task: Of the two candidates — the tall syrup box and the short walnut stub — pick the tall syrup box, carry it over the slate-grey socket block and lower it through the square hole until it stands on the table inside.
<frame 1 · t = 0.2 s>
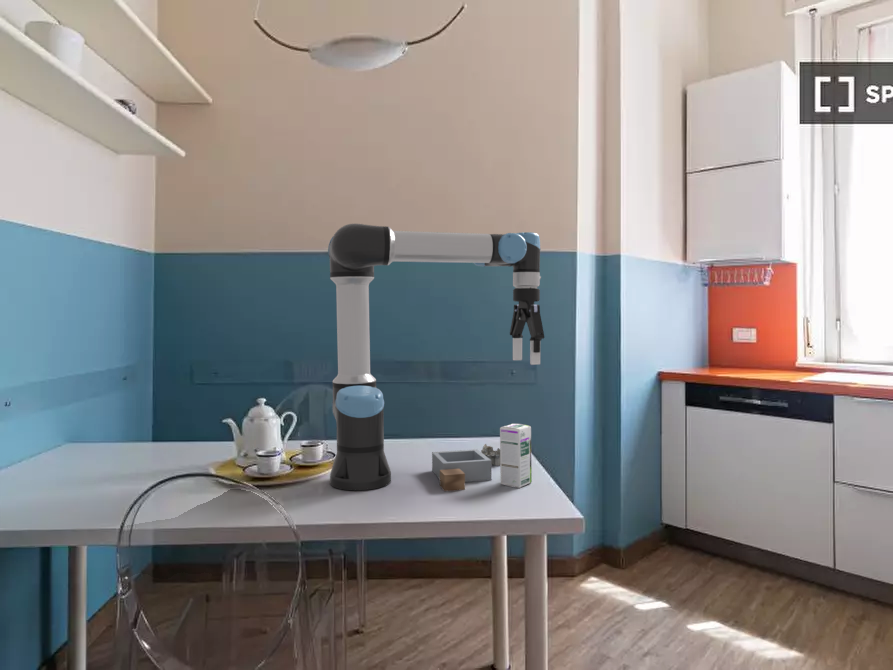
hand: (526, 362, 182), 28 cm above the table, fingers open, 13 cm apart
egg carton: (494, 462, 180), on the table
syrup box: (515, 484, 157), on the table
walnut stub: (452, 488, 154), on the table
socket: (461, 475, 165), on the table
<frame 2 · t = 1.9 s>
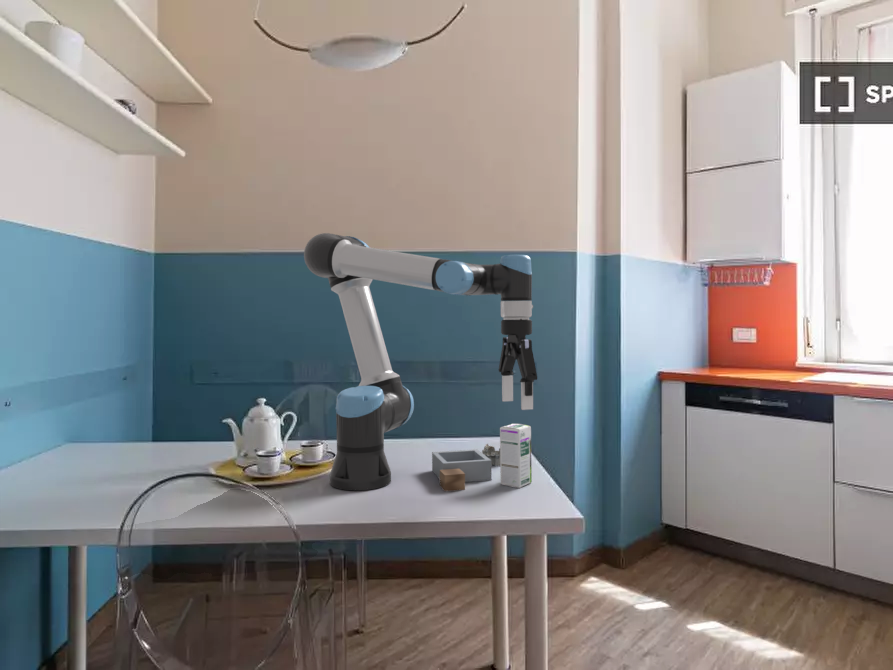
hand: (517, 405, 156), 20 cm above the table, fingers open, 13 cm apart
nothing on the table moved.
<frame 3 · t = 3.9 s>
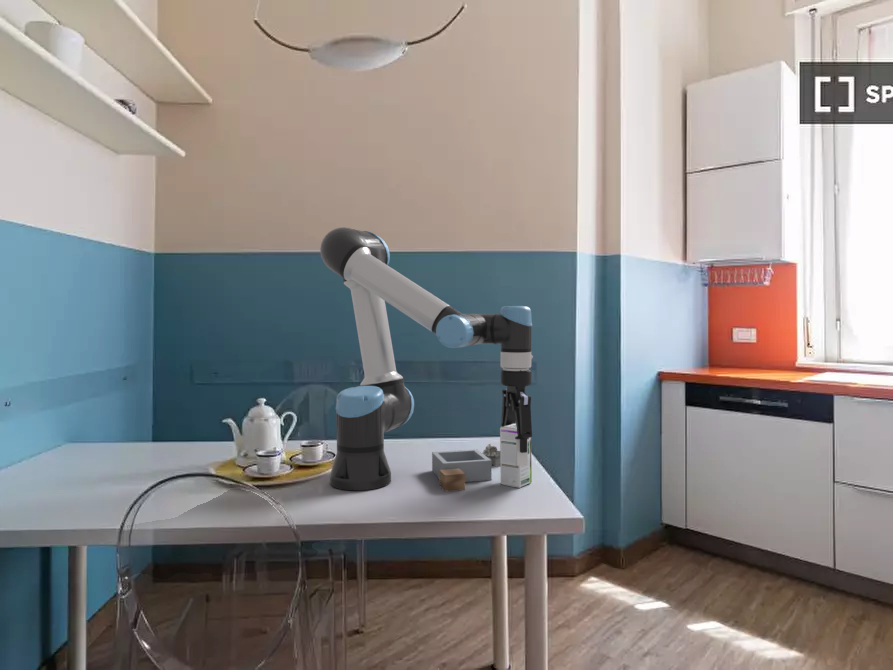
hand: (515, 460, 157), 6 cm above the table, fingers closed on syrup box, 8 cm apart
syrup box: (515, 484, 157), on the table, touching gripper
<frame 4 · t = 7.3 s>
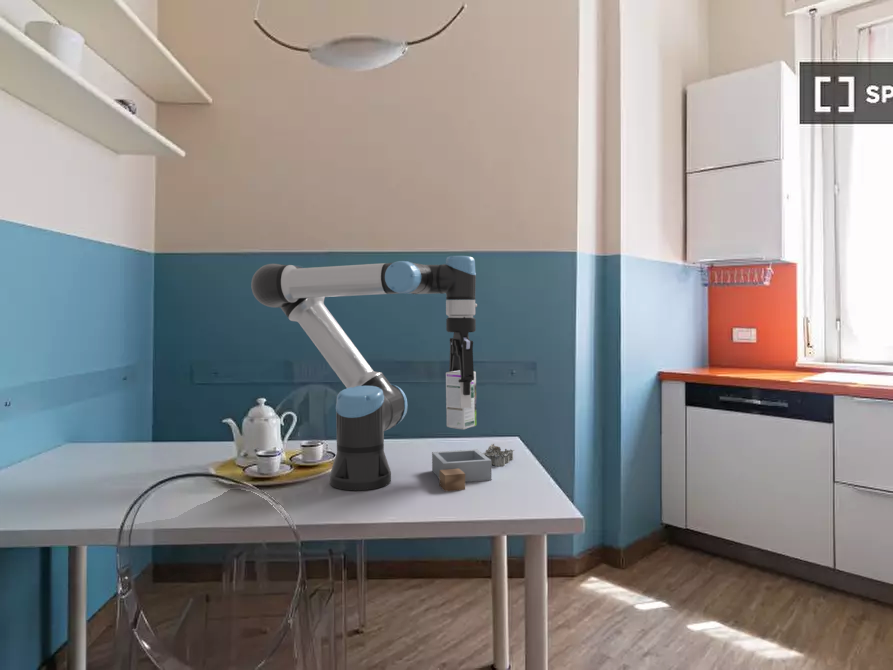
hand: (461, 405, 164), 18 cm above the table, fingers closed on syrup box, 8 cm apart
syrup box: (461, 427, 165), point 12 cm above the table, touching gripper
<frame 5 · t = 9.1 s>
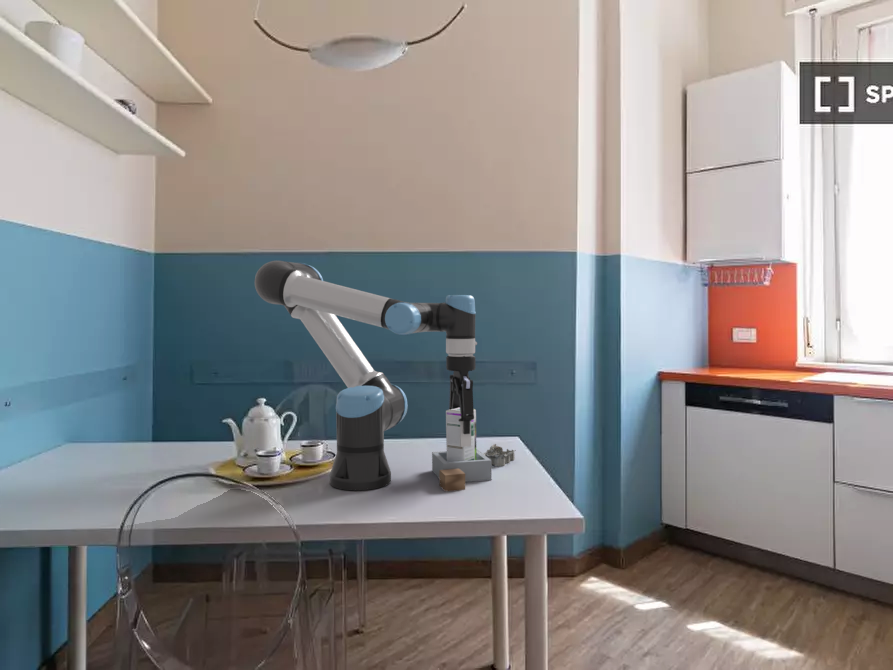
hand: (461, 442, 165), 9 cm above the table, fingers closed on syrup box, 8 cm apart
syrup box: (461, 465, 165), point 3 cm above the table, touching gripper
when the fingers open (7 cm above the table, at t = 10.6 s): syrup box stays where it is, resting in socket.
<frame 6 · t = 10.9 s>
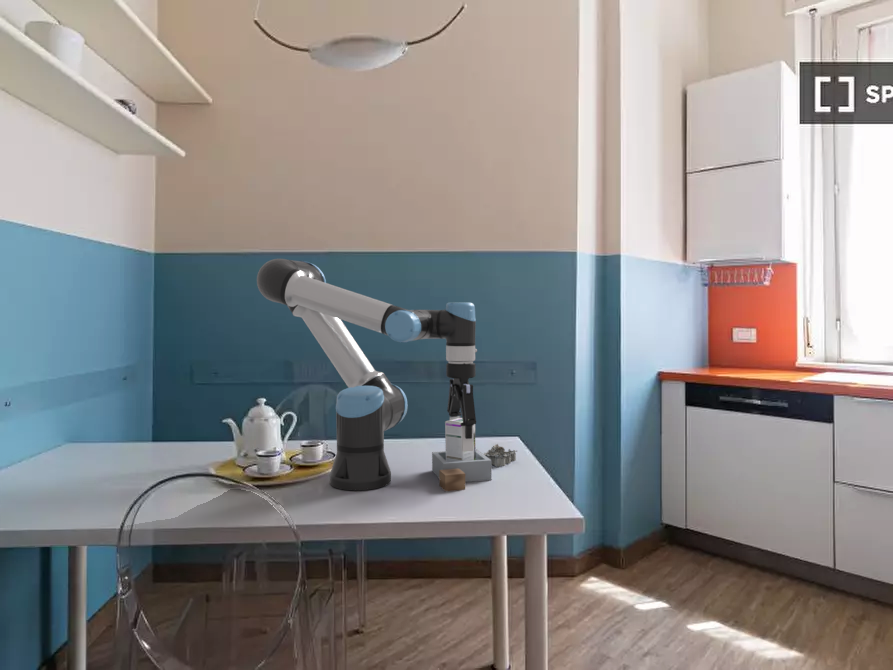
hand: (461, 445, 165), 8 cm above the table, fingers open, 11 cm apart
syrup box: (460, 475, 165), resting in socket
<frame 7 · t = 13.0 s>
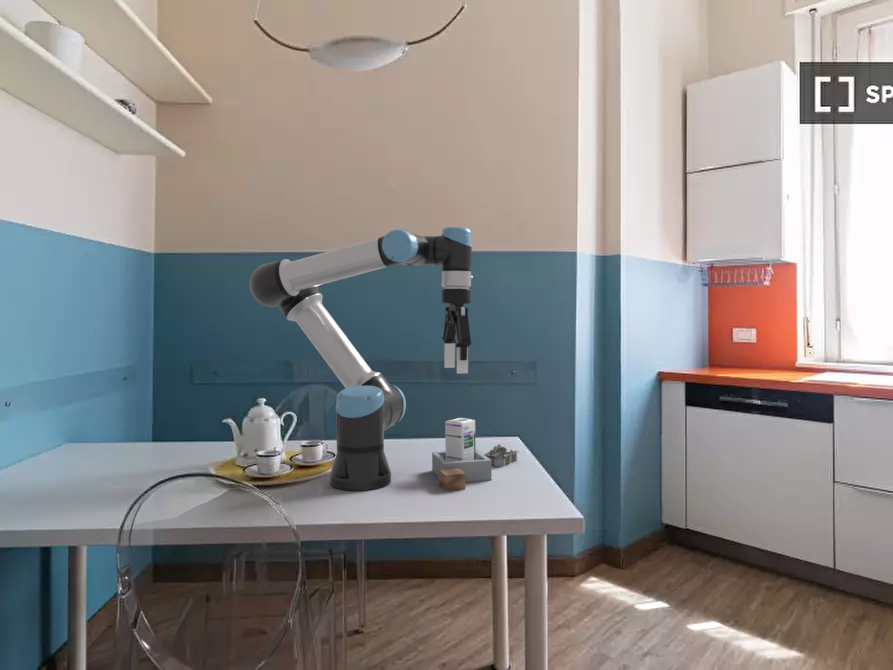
hand: (455, 370, 165), 27 cm above the table, fingers open, 13 cm apart
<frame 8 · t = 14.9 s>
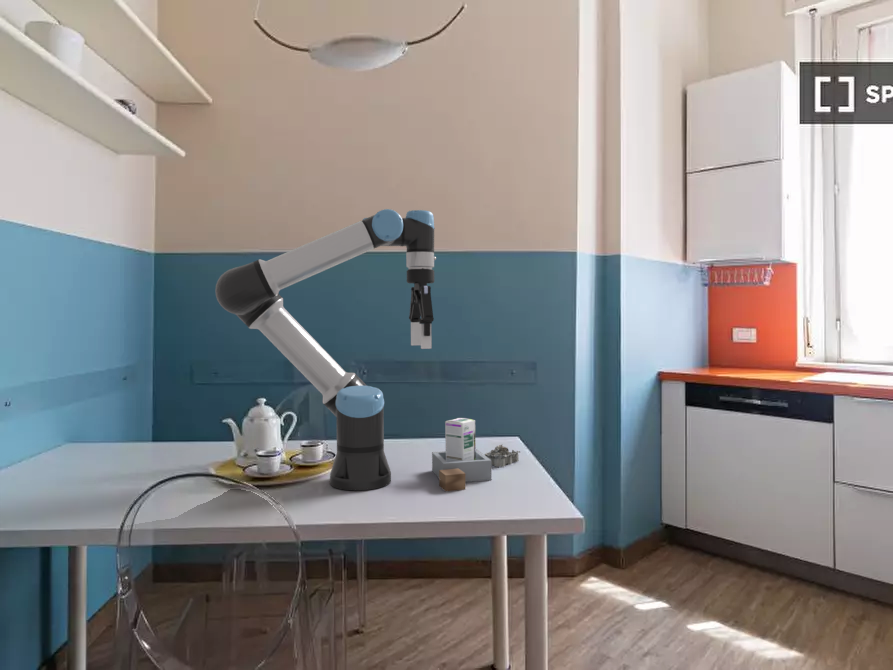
hand: (420, 347, 173), 33 cm above the table, fingers open, 13 cm apart
at the end: syrup box inside the target area on the socket (0.2 cm from its centre), point 0.0 cm above the socket's base; syrup box tilted 0° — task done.
